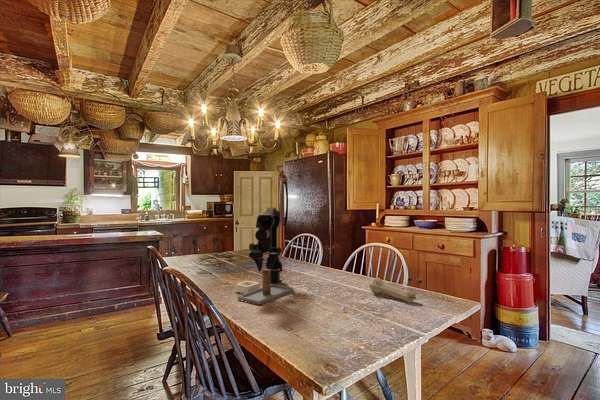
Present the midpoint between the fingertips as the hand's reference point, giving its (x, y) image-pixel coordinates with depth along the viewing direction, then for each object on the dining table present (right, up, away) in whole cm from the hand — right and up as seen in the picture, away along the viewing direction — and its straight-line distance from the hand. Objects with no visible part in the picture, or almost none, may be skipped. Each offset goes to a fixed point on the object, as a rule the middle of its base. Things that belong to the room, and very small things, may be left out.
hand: (265, 269), depth 155 cm
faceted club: (+61, -12, -8) cm, 63 cm away
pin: (0, -12, -1) cm, 12 cm away
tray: (0, -13, -1) cm, 13 cm away
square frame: (-10, -13, +6) cm, 17 cm away
